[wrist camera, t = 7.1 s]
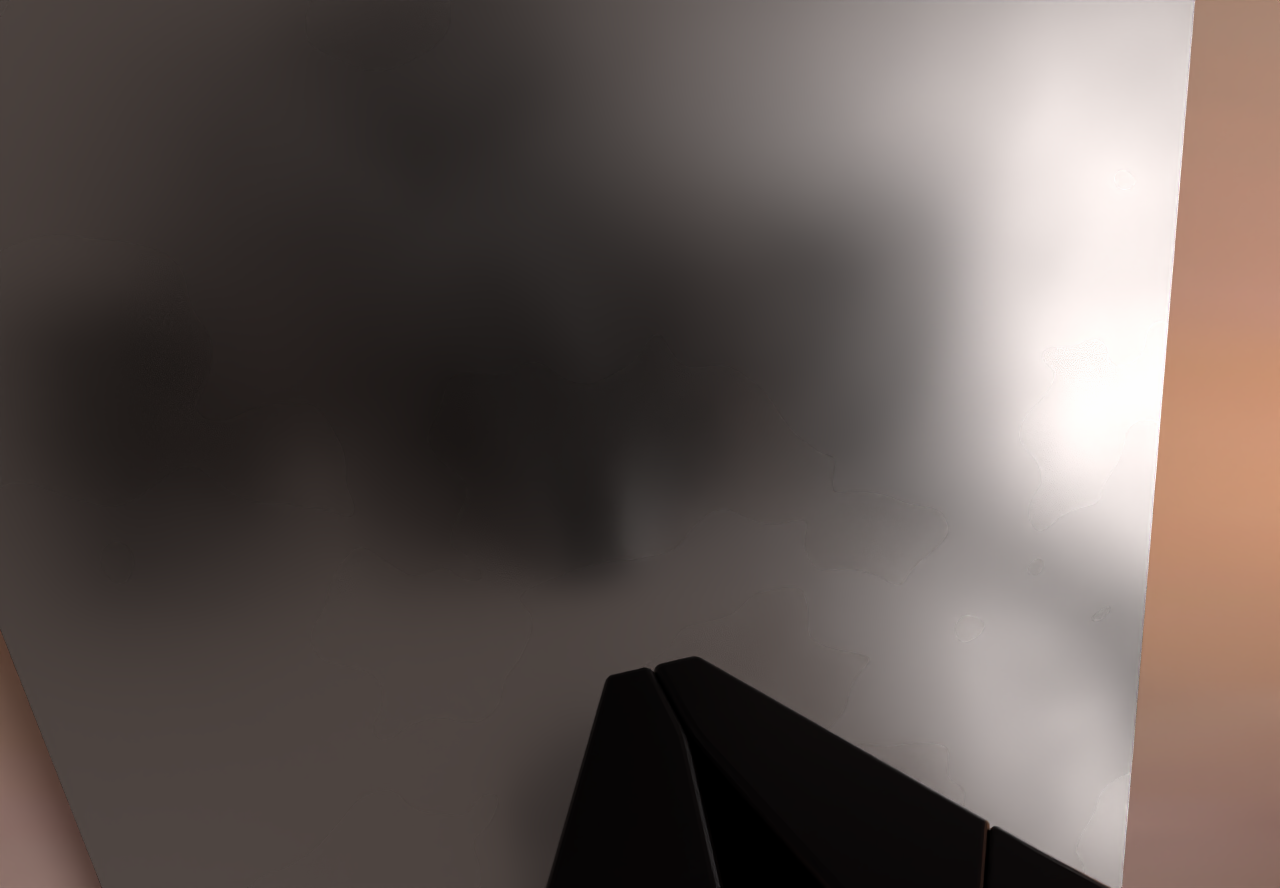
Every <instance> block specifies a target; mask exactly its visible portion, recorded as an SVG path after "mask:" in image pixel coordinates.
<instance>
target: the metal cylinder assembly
mask: <svg viewBox="0 0 1280 888" xmlns="http://www.w3.org/2000/svg"><path fill="white" fill-rule="evenodd" d="M1194 7H1195V0H0V630H1V632H2V635H3V638H4V640H5V643H6V645H7V648H8V650H9V653H10V655H11V658H12V660H13V663H14V665H15V668H16V671H17V673H18V676H19V678H20V681H21V683H22V686H23V688H24V691H25V693H26V696H27V699H28V701H29V704H30V706H31V709H32V711H33V714H34V716H35V719H36V721H37V724H38V727H39V729H40V732H41V734H42V737H43V739H44V742H45V744H46V747H47V749H48V752H49V754H50V757H51V760H52V762H53V765H54V767H55V770H56V772H57V775H58V777H59V780H60V782H61V785H62V788H63V790H64V793H65V795H66V798H67V800H68V803H69V805H70V808H71V810H72V813H73V815H74V818H75V821H76V823H77V826H78V828H79V831H80V833H81V836H82V838H83V841H84V843H85V846H86V849H87V851H88V854H89V856H90V859H91V861H92V864H93V866H94V869H95V871H96V874H97V877H98V879H99V882H100V884H101V887H102V888H545V887H546V884H547V880H548V877H549V873H550V870H551V866H552V863H553V859H554V856H555V853H556V849H557V846H558V842H559V839H560V835H561V832H562V828H563V825H564V821H565V818H566V814H567V811H568V808H569V804H570V801H571V797H572V794H573V790H574V787H575V783H576V780H577V776H578V773H579V769H580V766H581V762H582V759H583V756H584V752H585V749H586V745H587V742H588V738H589V735H590V731H591V728H592V724H593V721H594V717H595V714H596V710H597V707H598V704H599V700H600V697H601V693H602V690H603V686H604V683H605V681H606V679H607V678H608V677H609V676H610V675H613V674H617V673H622V672H626V671H630V670H635V669H639V668H643V667H645V668H650V669H651V670H652V671H653V672H654V669H655V667H656V666H657V665H659V664H661V663H665V662H669V661H674V660H678V659H682V658H686V657H691V656H697V657H700V658H702V659H704V660H706V661H708V662H709V663H711V664H713V665H715V666H716V667H718V668H720V669H722V670H724V671H725V672H727V673H729V674H731V675H732V676H734V677H736V678H738V679H739V680H741V681H743V682H745V683H746V684H748V685H750V686H752V687H753V688H755V689H757V690H759V691H761V692H762V693H764V694H766V695H768V696H769V697H771V698H773V699H775V700H776V701H778V702H780V703H782V704H783V705H785V706H787V707H789V708H790V709H792V710H794V711H796V712H798V713H799V714H801V715H803V716H805V717H806V718H808V719H810V720H812V721H813V722H815V723H817V724H819V725H820V726H822V727H824V728H826V729H827V730H829V731H831V732H833V733H835V734H836V735H838V736H840V737H842V738H843V739H845V740H847V741H849V742H850V743H852V744H854V745H856V746H857V747H859V748H861V749H863V750H864V751H866V752H868V753H870V754H872V755H873V756H875V757H877V758H879V759H880V760H882V761H884V762H886V763H887V764H889V765H891V766H893V767H894V768H896V769H898V770H900V771H901V772H903V773H905V774H907V775H909V776H910V777H912V778H914V779H916V780H917V781H919V782H921V783H923V784H924V785H926V786H928V787H930V788H931V789H933V790H935V791H937V792H939V793H940V794H942V795H944V796H946V797H947V798H949V799H951V800H953V801H954V802H956V803H958V804H960V805H961V806H963V807H965V808H967V809H968V810H970V811H972V812H974V813H976V814H977V815H979V816H981V817H983V818H984V819H986V820H987V821H988V822H989V824H990V829H991V827H993V826H999V827H1001V828H1003V829H1004V830H1006V831H1008V832H1010V833H1011V834H1013V835H1015V836H1017V837H1019V838H1020V839H1022V840H1024V841H1026V842H1027V843H1029V844H1031V845H1033V846H1034V847H1036V848H1038V849H1040V850H1042V851H1044V852H1045V853H1047V854H1049V855H1051V856H1053V857H1055V858H1057V859H1058V860H1060V861H1062V862H1064V863H1066V864H1068V865H1070V866H1071V867H1073V868H1075V869H1077V870H1079V871H1081V872H1083V873H1085V874H1086V875H1088V876H1090V877H1092V878H1094V879H1096V880H1098V881H1099V882H1101V883H1103V884H1105V885H1107V886H1109V887H1111V888H1122V881H1123V869H1124V856H1125V844H1126V832H1127V820H1128V808H1129V796H1130V784H1131V771H1132V759H1133V747H1134V735H1135V723H1136V711H1137V699H1138V686H1139V674H1140V662H1141V650H1142V638H1143V626H1144V614H1145V601H1146V589H1147V577H1148V565H1149V553H1150V541H1151V529H1152V516H1153V504H1154V492H1155V480H1156V468H1157V456H1158V444H1159V431H1160V419H1161V407H1162V395H1163V383H1164V371H1165V359H1166V347H1167V334H1168V322H1169V310H1170V298H1171V286H1172V274H1173V262H1174V249H1175V237H1176V225H1177V213H1178V201H1179V189H1180V177H1181V164H1182V152H1183V140H1184V128H1185V116H1186V104H1187V92H1188V79H1189V67H1190V55H1191V43H1192V31H1193V19H1194Z"/></svg>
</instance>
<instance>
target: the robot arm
mask: <svg viewBox="0 0 1280 888" xmlns="http://www.w3.org/2000/svg"><path fill="white" fill-rule="evenodd" d="M545 888H1111V887H1109V886H1107V885H1105V884H1103V883H1101V882H1099V881H1098V880H1096V879H1094V878H1092V877H1090V876H1088V875H1086V874H1085V873H1083V872H1081V871H1079V870H1077V869H1075V868H1073V867H1071V866H1070V865H1068V864H1066V863H1064V862H1062V861H1060V860H1058V859H1057V858H1055V857H1053V856H1051V855H1049V854H1047V853H1045V852H1044V851H1042V850H1040V849H1038V848H1036V847H1034V846H1033V845H1031V844H1029V843H1027V842H1026V841H1024V840H1022V839H1020V838H1019V837H1017V836H1015V835H1013V834H1011V833H1010V832H1008V831H1006V830H1004V829H1003V828H1001V827H999V826H993V827H991V829H990V824H989V822H988V821H987V820H986V819H984V818H983V817H981V816H979V815H977V814H976V813H974V812H972V811H970V810H968V809H967V808H965V807H963V806H961V805H960V804H958V803H956V802H954V801H953V800H951V799H949V798H947V797H946V796H944V795H942V794H940V793H939V792H937V791H935V790H933V789H931V788H930V787H928V786H926V785H924V784H923V783H921V782H919V781H917V780H916V779H914V778H912V777H910V776H909V775H907V774H905V773H903V772H901V771H900V770H898V769H896V768H894V767H893V766H891V765H889V764H887V763H886V762H884V761H882V760H880V759H879V758H877V757H875V756H873V755H872V754H870V753H868V752H866V751H864V750H863V749H861V748H859V747H857V746H856V745H854V744H852V743H850V742H849V741H847V740H845V739H843V738H842V737H840V736H838V735H836V734H835V733H833V732H831V731H829V730H827V729H826V728H824V727H822V726H820V725H819V724H817V723H815V722H813V721H812V720H810V719H808V718H806V717H805V716H803V715H801V714H799V713H798V712H796V711H794V710H792V709H790V708H789V707H787V706H785V705H783V704H782V703H780V702H778V701H776V700H775V699H773V698H771V697H769V696H768V695H766V694H764V693H762V692H761V691H759V690H757V689H755V688H753V687H752V686H750V685H748V684H746V683H745V682H743V681H741V680H739V679H738V678H736V677H734V676H732V675H731V674H729V673H727V672H725V671H724V670H722V669H720V668H718V667H716V666H715V665H713V664H711V663H709V662H708V661H706V660H704V659H702V658H700V657H697V656H691V657H686V658H682V659H678V660H674V661H669V662H665V663H661V664H659V665H657V666H656V667H655V669H654V672H653V671H652V670H651V669H650V668H645V667H643V668H639V669H635V670H630V671H626V672H622V673H617V674H613V675H610V676H609V677H608V678H607V679H606V681H605V683H604V686H603V690H602V693H601V697H600V700H599V704H598V707H597V710H596V714H595V717H594V721H593V724H592V728H591V731H590V735H589V738H588V742H587V745H586V749H585V752H584V756H583V759H582V762H581V766H580V769H579V773H578V776H577V780H576V783H575V787H574V790H573V794H572V797H571V801H570V804H569V808H568V811H567V814H566V818H565V821H564V825H563V828H562V832H561V835H560V839H559V842H558V846H557V849H556V853H555V856H554V859H553V863H552V866H551V870H550V873H549V877H548V880H547V884H546V887H545Z"/></svg>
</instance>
